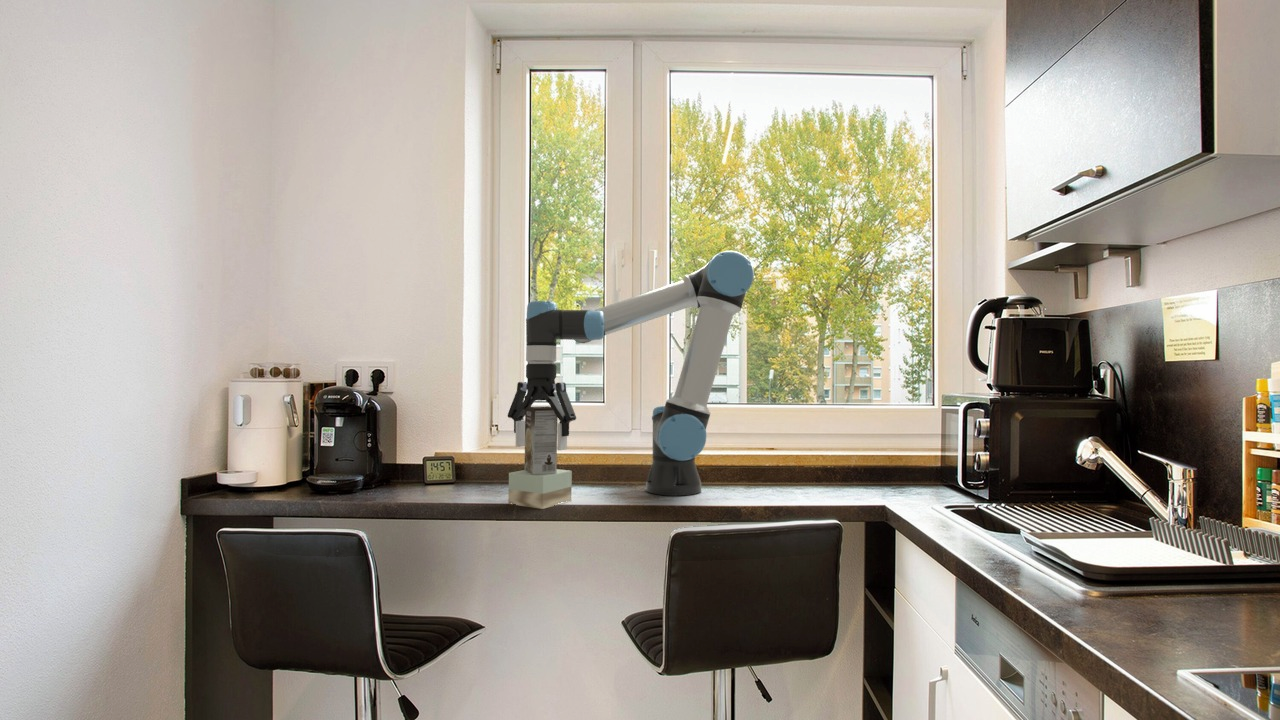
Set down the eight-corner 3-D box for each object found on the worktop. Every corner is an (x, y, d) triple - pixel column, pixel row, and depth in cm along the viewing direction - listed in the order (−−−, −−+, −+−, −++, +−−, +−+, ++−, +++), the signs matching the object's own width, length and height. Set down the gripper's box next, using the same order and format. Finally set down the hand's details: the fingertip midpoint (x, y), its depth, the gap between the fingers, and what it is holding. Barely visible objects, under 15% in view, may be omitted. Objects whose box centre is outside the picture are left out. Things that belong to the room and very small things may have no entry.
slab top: (571, 486, 159) (571, 470, 159) (543, 493, 150) (543, 476, 150) (538, 482, 165) (538, 467, 165) (508, 489, 156) (508, 472, 156)
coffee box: (523, 469, 161) (524, 406, 161) (547, 468, 163) (548, 406, 164) (532, 475, 152) (533, 408, 153) (558, 473, 155) (558, 408, 155)
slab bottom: (571, 502, 159) (571, 486, 159) (542, 510, 150) (542, 493, 150) (537, 498, 165) (538, 482, 165) (508, 505, 156) (508, 489, 156)
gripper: (590, 363, 155) (590, 449, 155) (514, 363, 168) (513, 443, 168) (571, 362, 149) (571, 452, 148) (494, 363, 162) (493, 446, 161)
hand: (540, 448), depth 158 cm, fingers open, 13 cm apart
